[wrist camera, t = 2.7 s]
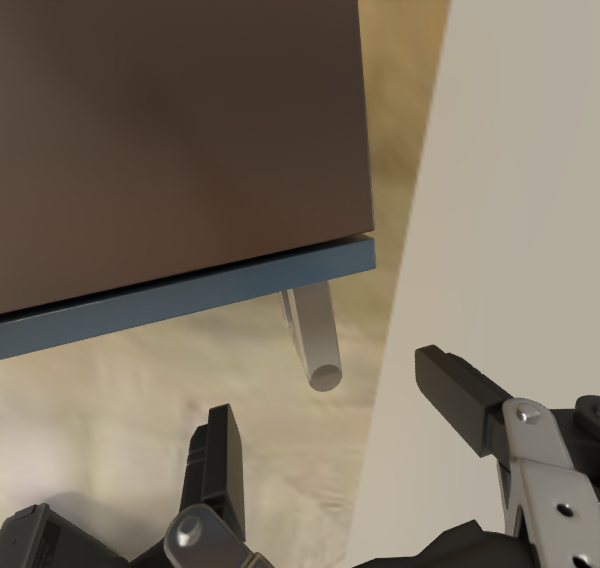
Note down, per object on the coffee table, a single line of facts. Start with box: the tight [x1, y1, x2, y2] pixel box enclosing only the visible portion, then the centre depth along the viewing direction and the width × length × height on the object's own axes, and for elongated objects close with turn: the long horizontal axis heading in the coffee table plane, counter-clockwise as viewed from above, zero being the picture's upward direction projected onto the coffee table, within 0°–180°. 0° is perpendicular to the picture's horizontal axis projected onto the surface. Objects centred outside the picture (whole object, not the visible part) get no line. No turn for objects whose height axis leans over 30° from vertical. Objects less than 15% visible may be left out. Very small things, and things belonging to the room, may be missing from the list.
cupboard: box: [0, 0, 375, 314], centre depth 12 cm, size 10×16×14 cm, turn 100°
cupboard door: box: [0, 233, 376, 392], centre depth 15 cm, size 6×16×14 cm, turn 100°
